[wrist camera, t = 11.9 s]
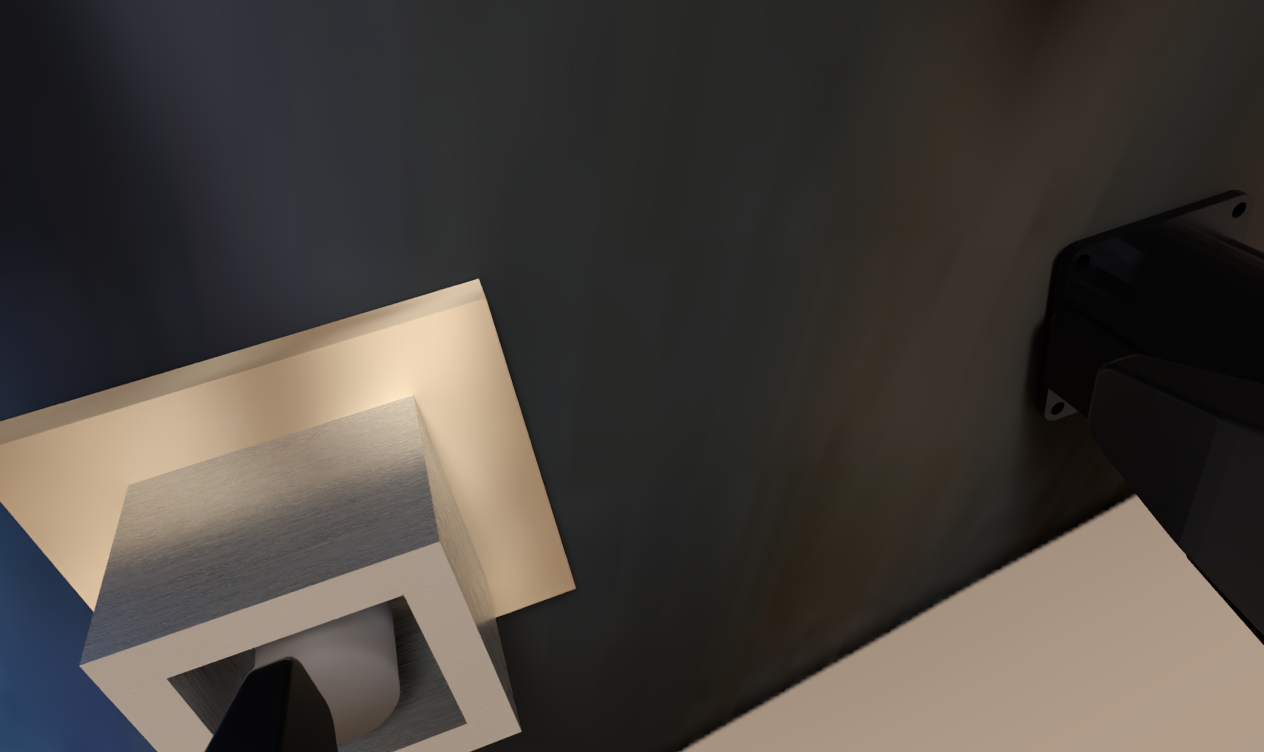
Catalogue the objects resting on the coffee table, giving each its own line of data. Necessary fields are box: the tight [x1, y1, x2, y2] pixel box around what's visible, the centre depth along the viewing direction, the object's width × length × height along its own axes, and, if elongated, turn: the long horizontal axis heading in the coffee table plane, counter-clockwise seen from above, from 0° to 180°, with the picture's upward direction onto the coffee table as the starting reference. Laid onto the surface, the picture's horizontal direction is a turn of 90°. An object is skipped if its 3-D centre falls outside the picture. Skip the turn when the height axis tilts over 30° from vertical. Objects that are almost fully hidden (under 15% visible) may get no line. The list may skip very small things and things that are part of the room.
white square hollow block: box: [79, 395, 522, 752], centre depth 19 cm, size 6×6×5 cm
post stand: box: [0, 279, 576, 744], centre depth 19 cm, size 11×10×6 cm
